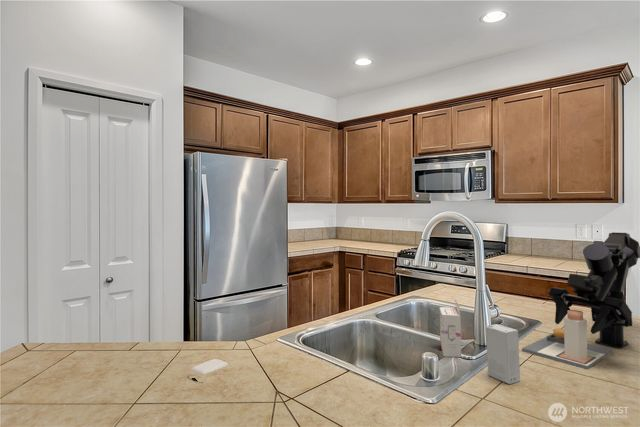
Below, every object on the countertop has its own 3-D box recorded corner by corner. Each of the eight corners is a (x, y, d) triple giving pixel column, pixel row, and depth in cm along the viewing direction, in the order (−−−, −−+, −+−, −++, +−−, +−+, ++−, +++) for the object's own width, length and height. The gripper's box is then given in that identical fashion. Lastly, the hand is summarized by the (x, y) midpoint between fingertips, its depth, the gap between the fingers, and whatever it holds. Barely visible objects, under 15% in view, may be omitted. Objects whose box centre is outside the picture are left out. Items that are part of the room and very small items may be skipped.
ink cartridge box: (439, 345, 113) (438, 296, 113) (456, 346, 112) (456, 297, 112) (442, 356, 104) (442, 303, 104) (461, 357, 103) (461, 304, 103)
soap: (215, 366, 102) (215, 355, 102) (232, 372, 97) (232, 361, 97) (186, 378, 94) (185, 367, 94) (202, 385, 90) (202, 373, 90)
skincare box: (521, 381, 89) (520, 329, 89) (508, 385, 87) (507, 332, 87) (498, 371, 94) (497, 323, 94) (485, 375, 93) (485, 325, 92)
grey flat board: (550, 337, 118) (550, 331, 118) (612, 352, 105) (612, 345, 105) (522, 350, 108) (522, 343, 108) (587, 369, 95) (587, 361, 95)
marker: (573, 353, 103) (572, 309, 103) (587, 357, 99) (586, 312, 99) (564, 355, 101) (564, 310, 101) (578, 360, 98) (577, 314, 98)
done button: (557, 332, 116) (557, 327, 116) (573, 336, 112) (573, 331, 112) (550, 335, 113) (550, 330, 113) (567, 339, 110) (567, 334, 110)
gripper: (551, 259, 111) (526, 301, 106) (624, 267, 94) (598, 318, 89) (569, 283, 114) (545, 325, 109) (643, 295, 97) (618, 346, 92)
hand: (573, 327), depth 100 cm, fingers open, 9 cm apart
